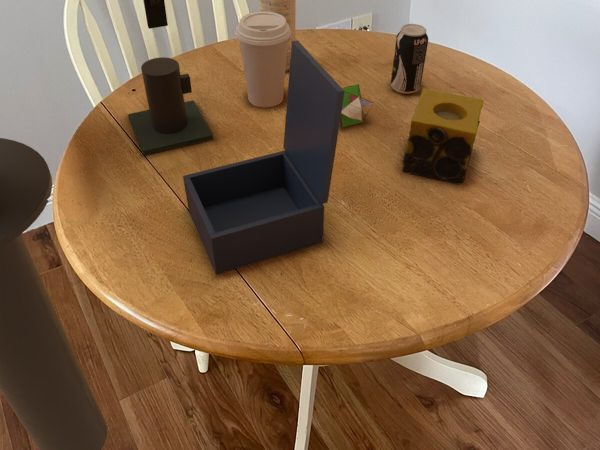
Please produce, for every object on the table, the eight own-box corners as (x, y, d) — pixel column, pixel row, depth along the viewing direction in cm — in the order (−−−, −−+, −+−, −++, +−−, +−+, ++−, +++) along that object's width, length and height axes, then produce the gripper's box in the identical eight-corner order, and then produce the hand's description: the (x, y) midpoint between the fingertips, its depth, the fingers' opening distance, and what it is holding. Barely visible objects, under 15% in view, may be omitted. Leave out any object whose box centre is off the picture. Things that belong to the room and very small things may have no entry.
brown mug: (157, 137, 99) (145, 78, 91) (149, 118, 103) (137, 61, 95) (199, 127, 101) (192, 69, 93) (190, 109, 105) (182, 53, 97)
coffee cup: (232, 106, 107) (225, 28, 97) (251, 81, 114) (247, 6, 104) (281, 116, 105) (279, 37, 95) (298, 90, 112) (298, 13, 102)
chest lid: (338, 91, 66) (344, 90, 66) (291, 40, 75) (297, 40, 75) (321, 204, 77) (327, 202, 77) (283, 147, 86) (288, 146, 86)
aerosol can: (302, 64, 119) (303, -38, 106) (279, 76, 116) (278, -27, 102) (277, 53, 123) (275, -47, 109) (254, 65, 119) (249, -37, 105)
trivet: (128, 118, 104) (127, 113, 104) (194, 104, 108) (193, 100, 107) (143, 156, 96) (142, 151, 96) (213, 139, 100) (212, 134, 99)
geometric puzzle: (319, 100, 105) (333, 81, 98) (352, 92, 107) (368, 72, 100) (333, 137, 104) (348, 120, 97) (366, 128, 107) (384, 111, 99)
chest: (216, 274, 78) (211, 238, 73) (188, 211, 87) (182, 175, 82) (322, 242, 82) (324, 206, 77) (286, 185, 91) (285, 150, 86)
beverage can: (392, 79, 115) (400, 20, 107) (421, 83, 114) (431, 24, 106) (387, 93, 111) (395, 33, 103) (418, 98, 110) (428, 38, 102)
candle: (413, 138, 101) (421, 86, 94) (472, 150, 98) (485, 98, 91) (399, 172, 94) (408, 119, 87) (463, 186, 91) (477, 133, 84)
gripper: (174, -141, 66) (194, 38, 80) (129, -180, 82) (153, -26, 97) (106, -135, 63) (140, 48, 78) (74, -177, 80) (106, -20, 94)
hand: (147, 7), depth 87 cm, fingers open, 13 cm apart
